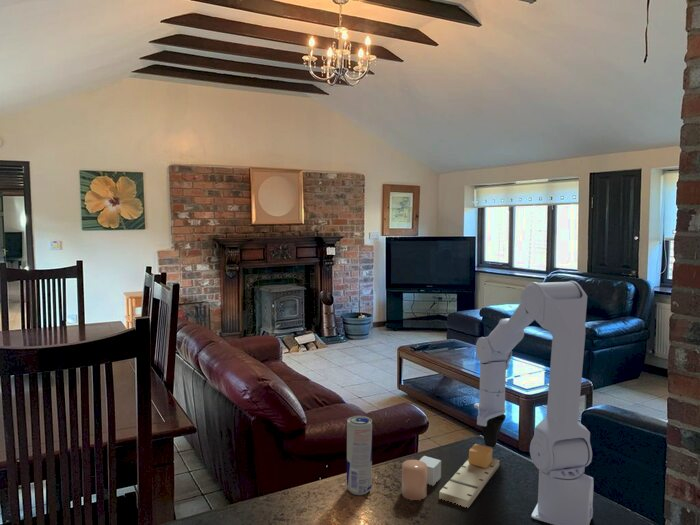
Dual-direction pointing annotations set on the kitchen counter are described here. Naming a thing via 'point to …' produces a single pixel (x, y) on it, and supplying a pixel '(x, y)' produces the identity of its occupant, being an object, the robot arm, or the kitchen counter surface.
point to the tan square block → (480, 455)
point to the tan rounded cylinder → (414, 480)
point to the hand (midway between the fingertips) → (490, 445)
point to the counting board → (467, 483)
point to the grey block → (432, 469)
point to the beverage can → (359, 455)
